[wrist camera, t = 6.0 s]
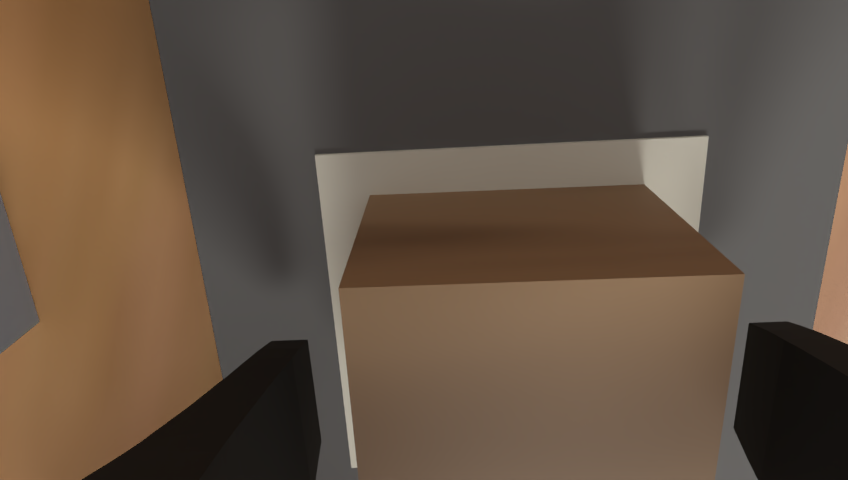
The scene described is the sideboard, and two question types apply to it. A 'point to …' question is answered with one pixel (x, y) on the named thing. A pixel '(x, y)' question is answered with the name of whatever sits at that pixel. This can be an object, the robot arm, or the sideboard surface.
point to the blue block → (13, 289)
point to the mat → (495, 143)
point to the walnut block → (536, 337)
